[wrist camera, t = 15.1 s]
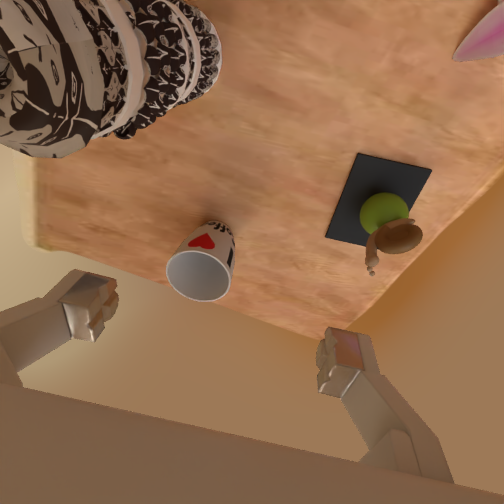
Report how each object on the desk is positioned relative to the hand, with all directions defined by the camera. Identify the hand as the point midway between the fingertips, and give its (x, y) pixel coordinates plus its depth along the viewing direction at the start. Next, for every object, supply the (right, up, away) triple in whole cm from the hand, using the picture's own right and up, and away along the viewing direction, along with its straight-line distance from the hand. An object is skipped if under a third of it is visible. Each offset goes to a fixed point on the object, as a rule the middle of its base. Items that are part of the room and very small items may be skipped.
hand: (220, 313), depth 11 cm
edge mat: (+17, +8, +27) cm, 33 cm away
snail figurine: (+17, +8, +27) cm, 33 cm away
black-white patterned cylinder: (-6, +24, +20) cm, 32 cm away
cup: (-4, +5, +33) cm, 34 cm away
